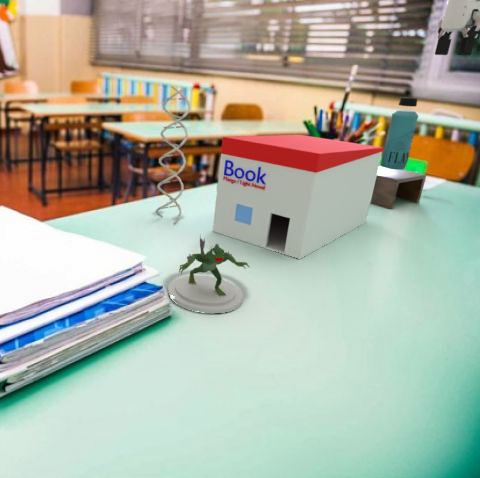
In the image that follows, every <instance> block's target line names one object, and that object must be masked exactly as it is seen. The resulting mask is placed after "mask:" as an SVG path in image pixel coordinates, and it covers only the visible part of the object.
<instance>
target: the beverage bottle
mask: <svg viewBox="0 0 480 478" xmlns="http://www.w3.org/2000/svg"><path fill="white" fill-rule="evenodd" d="M417 105H418V98H416V97H411V96H405V97H401V98H400V99H399V102H398V106H401V107H414V108H415V107H417ZM418 119H419V115H418V113H417V112H416V111H414V110H407V109H397V110H396V111H394V112H392V113H391V119H390V121H389V122H390V123H389V127H388V131H387V135H386V141H385V144H384V147H383V148H384V150H383V152H382V155H381V159H380V166H381V167H384V168H388V169H396V170H406V167H407V165H408V161H409V156H410V152H411V149H412V143H413V139H414V138H415V137H414V136H415V133H416V128H417V122H418Z"/></svg>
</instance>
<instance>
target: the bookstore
mask: <svg viewBox="0 0 480 478" xmlns="http://www.w3.org/2000/svg"><path fill="white" fill-rule="evenodd" d="M384 148H385V147H384V146H376V145H369V144H363V143H355V142H351V141H343V140H335V139H330V138H324V137H317V136H311V135H304V134H273V135H271V134H270V135H269V134H268V135H240V136H238V135H235V136H222V140H221V149H220V161H219V171H218V180H217V189H216V197H215V204H214V205H215V206H214V214H213V222H212V223H213V224H212V232H214V233H217V234H220V235H224V236H227V237H228V238H229V237H230V238H232V239H236V240H238V241H241V242H245V243H248V244H251V245H254V246H256V247H260V248H263V249H266V250H268V251H272V252H275V251H276V252H275V253H278V252H279V254H281V253H282V254H281V255H284V254H286V255H285V256H287V255H289V256H288V257H290V256H293V257H295V258H294V259H296V258H298V259H297V260H299V259H300V258H302V257H303V258H305V257H307V256H308V254H309V255H311V254H312V253H314V252H316V251H318V250H319V249H321V248H323V247H325V246H326V244H327V245H328V244H330V243H332V242H334V241H336V240H338V239H340V238H341V237H343V236H344V234H345V235H346V234H348V233H350V232H351V231H353V230H355V229H358V228H359V227H361V226H363V225H364V224H366V223H367V219H368V216H369V215H368V214H369V211H370V207H371V203H370V202H371V198H372V194H373V189H374V185H375V181H376V177H377V172H378V168H379V167H380V165H381V160H382V155H383V151H384ZM360 225H361V226H360ZM358 226H359V227H358ZM342 235H343V236H342ZM340 236H341V237H340ZM335 239H336V240H335ZM333 240H334V241H333ZM324 245H325V246H324ZM322 246H323V247H322ZM317 249H318V250H317ZM315 250H316V251H315ZM313 251H314V252H313ZM310 253H311V254H310ZM306 255H307V256H306ZM304 256H305V257H304ZM293 257H292V258H293ZM303 258H302V259H303ZM300 260H301V259H300Z"/></svg>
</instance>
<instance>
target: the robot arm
mask: <svg viewBox="0 0 480 478" xmlns="http://www.w3.org/2000/svg"><path fill="white" fill-rule="evenodd" d="M437 25H438V27H437V28H438V29H437V43H436V47H435V52H434V55H435V56H448V55H449V51H450V47H451V44H452V38H451V37H452V36H453V34H454V33H455V32H456V31H457V32H462V36H463V37H461V38H460V41H459V44H458V49H457V53H456V54H457V56H471V55H472V52H473V49H474V45H475V41H476V39H477V38H478V36H479V33H480V0H447V2H446V5H445V9H444V13H443V16H442V19H440V20H439V21H438V23H437Z"/></svg>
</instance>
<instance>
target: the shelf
mask: <svg viewBox="0 0 480 478" xmlns="http://www.w3.org/2000/svg"><path fill="white" fill-rule="evenodd" d="M426 178H427V174H424V173H420V172H415V171H410V170H406V169H402V170H396V169H388V168H384V167H381V165H379V168H378V172H377V177H376V181H375V185H374V189H373V194H372V198H371V202H370V205H374V206H377V207H381V208H385V209H388V210H392V209H393V208H394V206H395V201H396V199H398V200H402V201H407V202H411V203H414V204H420V202H421V201H420V200H421V197H422V194H423V190H424V186H425V182H426Z"/></svg>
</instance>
